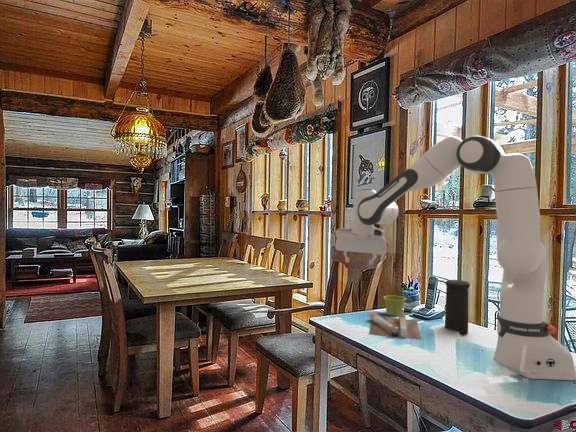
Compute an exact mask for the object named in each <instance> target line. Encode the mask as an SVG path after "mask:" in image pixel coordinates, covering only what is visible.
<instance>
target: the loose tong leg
mask: <svg viewBox="0 0 576 432" xmlns="http://www.w3.org/2000/svg"><path fill="white" fill-rule="evenodd" d="M383 318H384V317H383ZM383 318H382V316H380V315H379V313H376V312H369V320H370V322H371V321H373V322H375V323H376V324H377V325H379V326H380V327H381V328H383V329H384V330H386V331H387V332H388V333H390V334H391V335H392V336H398V327H396V326H394V325H392V324H391V323H389V322H388V321H386V320H385V319H383Z"/></svg>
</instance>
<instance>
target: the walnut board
mask: <svg viewBox="0 0 576 432" xmlns="http://www.w3.org/2000/svg"><path fill="white" fill-rule="evenodd" d="M381 317H382V316H381ZM382 318H383V319H385V320H386V321H388V322H389V323H391V324H392V325H394V326H396V327H398V336H392V335H391V334H390V333H388V332H387V331H386V330H384V329H383V328H381V327H380V326H379V325H377V324H376V323H375V322H373V321H371V320H370V326H369V331H368V335H370V336H371V335H372V336H379V337H388V338H389V337H391V338H392V337H393V338H400V339H403V338H402V337H401V335H400V323H399V318H392V317H382ZM405 321H406V327H407V338H406V339H411V340H419V341H420V340H421V341H422V335H421V331H420V328H419V324H418V320H416V319H415V320H414V319H406V318H405Z"/></svg>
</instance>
